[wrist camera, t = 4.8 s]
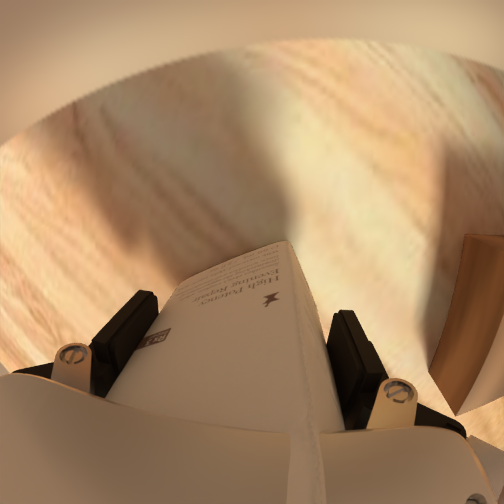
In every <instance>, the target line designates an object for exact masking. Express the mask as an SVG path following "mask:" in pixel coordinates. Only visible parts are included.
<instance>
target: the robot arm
mask: <svg viewBox="0 0 504 504" xmlns="http://www.w3.org/2000/svg"><path fill="white" fill-rule="evenodd" d="M158 315H159V312H158V300H157V296H155V295H154V294H153V292H151V291H144V290H139V291H138V292H137V293H136V294H135V295H134V296H133V297H132V298H131V299H130V300H129V301H128V302H127V303H126V304H125V305H124V306H123V307H122V308H121V309H120V310H119V311H118V312H117V313H116V314H115V315H114V316H113V317H112V319H111V320H110V321H109V322H108V323H107V324H106V325H105V326H104V327H103V328H102V329H101V330H100V331H99V332H98V333H97V335H96V336H95V337H94V338H93V339H92V343H91V344H90V345H89V346H87V345H85V344H82V343H71V344H67V345H65V346H63V347H61V348H60V349H59V350H58V351H57V354H56V356H55V361H54V362H52V363H48V364H43V365H39V366H34V367H29V368H24V369H19V370H16V371H14V372H12V373H10V374H5V375H2V376H0V504H286V501H287V487H288V473H289V464H290V434H288V433H280V432H271V431H262V430H253V429H246V428H239V427H230V426H222V425H215V424H208V423H202V422H196V421H190V420H185V419H180V418H175V417H170V416H166V415H161V414H157V413H153V412H149V411H145V410H141V409H137V408H134V407H130V406H127V405H123V404H120V403H117V402H113V401H110V400H107V399H105V397H106V396H107V394H108V392H109V391H110V389H111V387H112V386H113V384H114V382H115V381H116V379H117V378H118V376H119V375H120V373H121V372H122V370H123V369H124V367H125V365H126V364H127V362H128V361H129V359H130V357H131V356H132V354H133V352H134V351H135V349H136V348H137V346H138V345H139V343H140V342H141V340H142V339H143V337H144V336H145V334H146V333H147V331H148V330H149V328H150V327H151V325H152V324H153V322H154V321H155V319H156V318H157V316H158ZM326 346H327V350H328V354H329V358H330V362H331V366H332V371H333V375H334V379H335V384H336V388H337V393H338V397H339V401H340V406H341V411H342V416H343V420H344V425H345V431H324V432H321V433H319V440H320V447H321V454H322V461H323V467H324V476H325V489H326V502H327V504H498V503H497V500H498V498H499V496H500V493H501V490H502V488H503V485H504V451H502V450H500V449H498V448H496V447H494V446H492V445H490V444H488V443H486V442H484V441H482V440H480V439H478V438H476V437H474V436H472V435H470V437H469V438H468V437H466V430H465V429H464V427H463V426H462V425H461V424H460V423H459V422H458V421H456V420H454V419H452V418H449V417H447V416H445V415H443V414H441V413H439V412H436V411H434V410H432V409H430V408H428V407H426V406H424V405H422V404H419V403H417V400H418V393H417V390H416V388H415V387H414V386H413V385H412V384H411V383H409V382H408V381H406V380H403V379H399V378H390V379H389V377H388V375H387V373H386V370H385V368H384V366H383V364H382V362H381V360H380V358H379V356H378V354H377V352H376V350H375V348H374V346H373V344H372V342H371V341H368V339H367V337H366V335H365V332H364V331H363V329H362V327H361V325H360V323H359V321H358V319H357V317H356V315H355V313H354V311H353V310H339V312H338V313H334V316H333V320H332V324H331V328H330V332H329V336H328V340H327V344H326Z"/></svg>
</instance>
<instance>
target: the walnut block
mask: <svg viewBox="0 0 504 504" xmlns="http://www.w3.org/2000/svg"><path fill="white" fill-rule="evenodd" d="M428 372H429V374H430V375H431V377H432V379H433V380H434V382H435V383H436V385H437V386H438V388H439V390H440V391H441V393H442V395H443V396H444V398H445V400H446V401H447V403H448V405H449V406H450V408H451V410H452V411H453V413H454V415H455V416H458V415H461V414H463V413H466V412H468V411H471V410H473V409H476V408H478V407H480V406H483V405H485V404H487V403H489V402H492V401H494V400H496V399H498V398H500V397H502V396H504V236H503V235H473V234H465V237H464V244H463V250H462V256H461V262H460V267H459V272H458V277H457V281H456V286H455V290H454V294H453V298H452V302H451V306H450V310H449V313H448V317H447V320H446V323H445V327H444V330H443V333H442V336H441V339H440V342H439V345H438V348H437V351H436V353H435V356H434V359H433V361H432V364H431V366H430V369H429V371H428Z"/></svg>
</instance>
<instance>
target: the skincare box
mask: <svg viewBox="0 0 504 504" xmlns="http://www.w3.org/2000/svg"><path fill="white" fill-rule="evenodd" d="M105 399H107V400H110V401H113V402H117V403H120V404H123V405H127V406H130V407H134V408H137V409H141V410H145V411H149V412H153V413H157V414H161V415H166V416H170V417H175V418H180V419H185V420H190V421H196V422H202V423H208V424H215V425H222V426H230V427H239V428H246V429H253V430H262V431H271V432H280V433H288V434H290V464H289V473H288V487H287V501H286V504H327V502H326V489H325V476H324V467H323V461H322V454H321V447H320V440H319V433H321V432H324V431H345V425H344V420H343V416H342V411H341V406H340V401H339V397H338V393H337V388H336V384H335V379H334V375H333V371H332V366H331V362H330V358H329V354H328V350H327V346H326V342H325V338H324V334H323V330H322V327H321V323H320V319H319V315H318V309H317V306H316V304H315V301H314V299H313V296H312V293H311V291H310V288H309V286H308V283H307V281H306V278H305V276H304V273H303V271H302V269H301V266H300V264H299V261H298V259H297V257H296V254H295V252H294V250H293V248H292V246H291V244H290V242H289V241H279V242H276V243H273V244H270V245H267V246H264V247H262V248H259V249H256V250H253V251H251V252H248V253H245V254H243V255H240V256H238V257H235V258H233V259H230V260H228V261H226V262H223V263H221V264H218V265H216V266H214V267H211V268H209V269H207V270H205V271H203V272H200V273H198V274H196V275H194V276H192V277H190V278H188V279H186V280H184V281H183V282H181V283H180V284H179V285H178V287H177V288H176V290H175V291H174V293H173V294H172V296H171V297H170V299H169V300H168V301H167V303H166V304H165V306H164V307H163V309H162V310H161V312H160V313H159V315H158V316H157V318H156V319H155V321H154V322H153V324H152V325H151V327H150V328H149V330H148V331H147V333H146V334H145V336H144V337H143V339H142V340H141V342H140V343H139V345H138V346H137V348H136V349H135V351H134V352H133V354H132V356H131V357H130V359H129V361H128V362H127V364H126V365H125V367H124V369H123V370H122V372H121V373H120V375H119V376H118V378H117V379H116V381H115V382H114V384H113V386H112V387H111V389H110V391H109V392H108V394H107V396H106V397H105Z"/></svg>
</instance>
